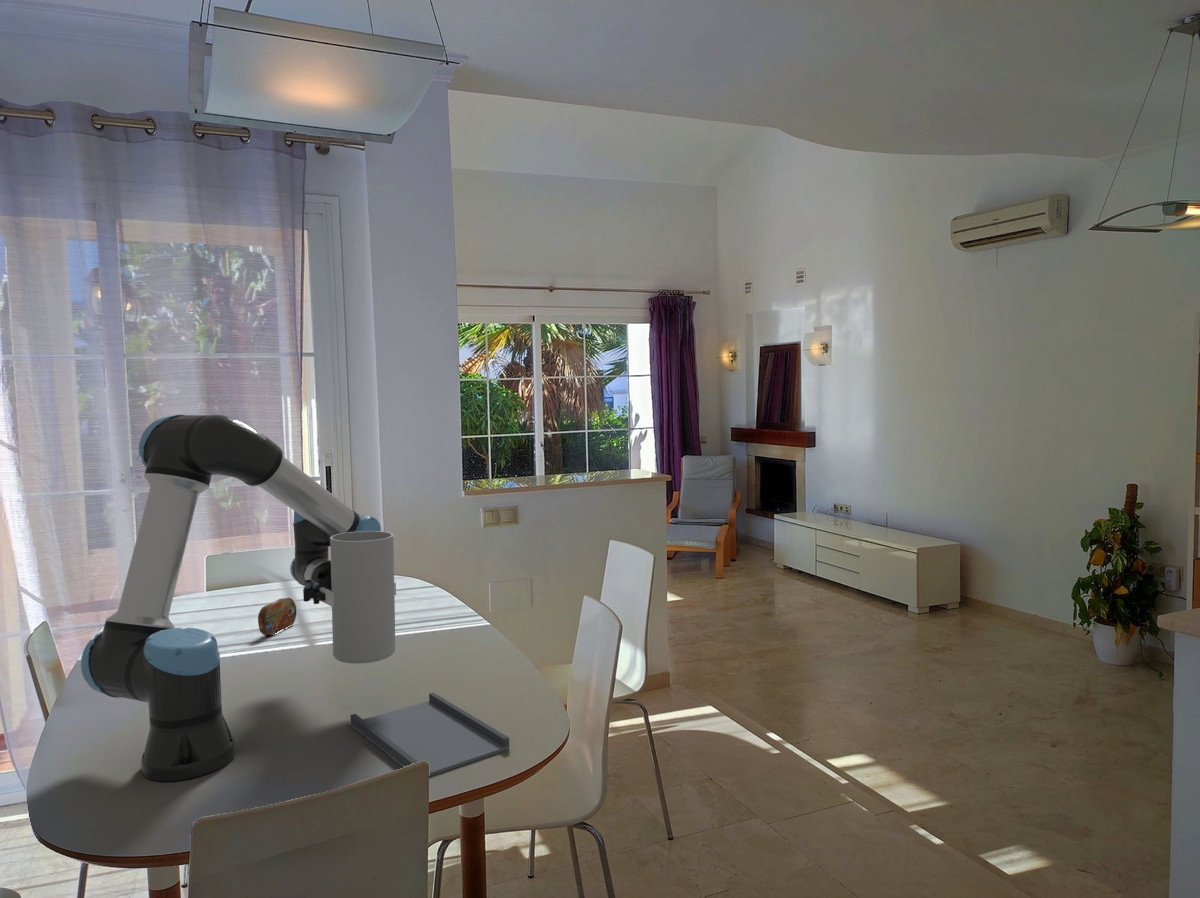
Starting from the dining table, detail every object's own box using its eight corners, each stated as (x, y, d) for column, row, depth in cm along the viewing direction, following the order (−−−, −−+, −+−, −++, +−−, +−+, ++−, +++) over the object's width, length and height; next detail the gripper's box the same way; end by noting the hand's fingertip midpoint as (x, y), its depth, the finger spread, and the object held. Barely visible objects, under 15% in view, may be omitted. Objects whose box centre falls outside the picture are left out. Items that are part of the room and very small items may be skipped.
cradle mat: (509, 749, 152) (508, 737, 152) (418, 780, 141) (417, 767, 141) (433, 702, 175) (433, 692, 175) (350, 725, 164) (350, 714, 164)
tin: (267, 639, 224) (265, 608, 223) (256, 639, 224) (254, 608, 224) (298, 623, 238) (296, 594, 238) (288, 623, 239) (286, 594, 238)
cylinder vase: (354, 644, 181) (352, 530, 179) (406, 648, 178) (404, 532, 176) (320, 661, 169) (317, 539, 167) (375, 667, 166) (373, 542, 164)
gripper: (379, 585, 197) (419, 602, 180) (272, 603, 181) (305, 623, 165) (378, 554, 196) (418, 567, 179) (270, 569, 181) (303, 585, 164)
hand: (364, 594), depth 172 cm, fingers closed on cylinder vase, 12 cm apart
